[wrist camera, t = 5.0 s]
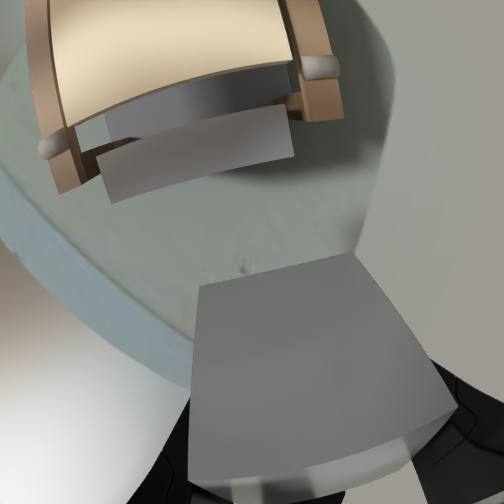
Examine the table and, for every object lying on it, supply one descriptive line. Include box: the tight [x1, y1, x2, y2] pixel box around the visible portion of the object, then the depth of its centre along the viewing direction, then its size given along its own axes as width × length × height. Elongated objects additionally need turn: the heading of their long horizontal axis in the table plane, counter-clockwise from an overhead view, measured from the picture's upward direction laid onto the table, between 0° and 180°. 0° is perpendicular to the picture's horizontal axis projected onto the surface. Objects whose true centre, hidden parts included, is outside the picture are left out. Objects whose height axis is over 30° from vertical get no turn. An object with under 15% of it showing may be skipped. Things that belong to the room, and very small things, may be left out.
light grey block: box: [188, 252, 458, 504], centre depth 7 cm, size 5×5×6 cm
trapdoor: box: [50, 0, 294, 204], centre depth 8 cm, size 13×8×6 cm, turn 12°
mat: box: [104, 64, 293, 143], centre depth 12 cm, size 12×11×1 cm
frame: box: [26, 0, 344, 194], centre depth 9 cm, size 12×11×8 cm
